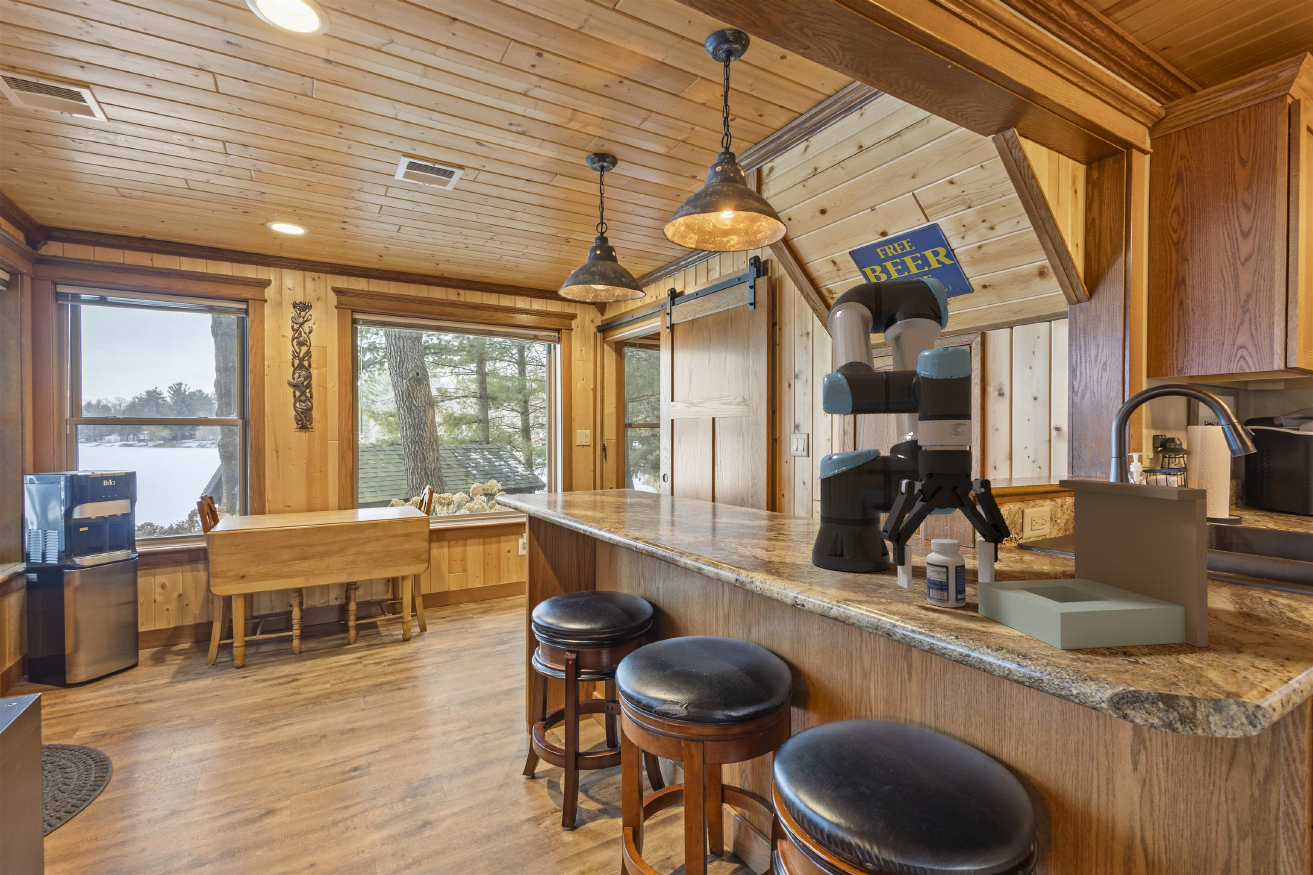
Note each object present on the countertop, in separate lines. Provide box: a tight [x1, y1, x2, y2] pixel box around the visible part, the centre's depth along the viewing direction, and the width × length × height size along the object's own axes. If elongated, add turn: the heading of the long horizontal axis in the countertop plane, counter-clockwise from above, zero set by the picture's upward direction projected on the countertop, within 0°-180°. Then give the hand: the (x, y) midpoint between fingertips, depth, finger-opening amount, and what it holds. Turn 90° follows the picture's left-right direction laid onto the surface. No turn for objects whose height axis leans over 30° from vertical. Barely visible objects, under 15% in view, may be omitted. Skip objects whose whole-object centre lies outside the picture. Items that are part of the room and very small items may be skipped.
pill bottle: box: [926, 538, 967, 608], centre depth 91 cm, size 5×5×10 cm
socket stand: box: [977, 478, 1209, 651], centre depth 80 cm, size 18×18×19 cm
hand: (945, 585), depth 91 cm, fingers open, 13 cm apart
